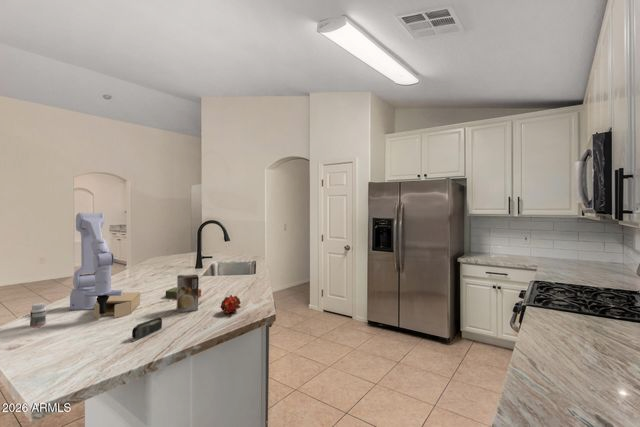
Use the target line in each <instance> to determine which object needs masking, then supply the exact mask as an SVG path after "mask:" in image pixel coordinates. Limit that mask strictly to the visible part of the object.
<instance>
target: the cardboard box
mask: <svg viewBox="0 0 640 427" xmlns="http://www.w3.org/2000/svg"><path fill="white" fill-rule="evenodd" d="M126 302H131V309H130V314H129V315H131V314H132V313H133V312H134V311H135V310H136V309H137V308H138V307H139V306H140V305H141V292H133V291H132V292H123V295H121V296H109V298H108V300H107V302H106V313H105V314H112V315H114V306H115V305H117V304H121V303H126ZM96 303H97V304H99V303H98V302H97V300H96ZM100 316H105V315H104V314H100Z"/></svg>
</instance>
